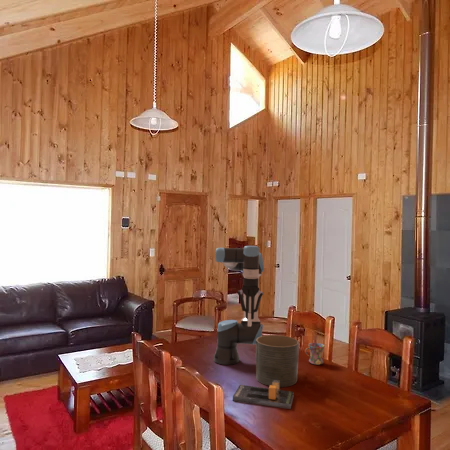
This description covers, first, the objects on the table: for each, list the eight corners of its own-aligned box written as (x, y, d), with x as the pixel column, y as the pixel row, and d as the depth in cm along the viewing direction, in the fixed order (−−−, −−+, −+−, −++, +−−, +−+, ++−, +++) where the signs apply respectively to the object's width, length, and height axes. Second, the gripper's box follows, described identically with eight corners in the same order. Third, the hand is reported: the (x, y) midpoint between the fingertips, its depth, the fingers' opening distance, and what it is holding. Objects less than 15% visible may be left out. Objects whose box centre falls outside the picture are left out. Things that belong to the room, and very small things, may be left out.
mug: (318, 359, 238) (319, 342, 238) (327, 365, 229) (327, 346, 230) (301, 361, 234) (301, 343, 235) (309, 366, 226) (309, 348, 226)
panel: (232, 400, 179) (233, 385, 179) (239, 388, 192) (240, 374, 192) (290, 409, 172) (290, 393, 172) (293, 396, 185) (293, 381, 185)
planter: (302, 376, 211) (303, 338, 211) (291, 391, 191) (292, 349, 191) (263, 368, 221) (264, 332, 221) (249, 382, 200) (249, 342, 201)
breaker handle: (268, 398, 176) (268, 387, 176) (269, 396, 179) (269, 385, 179) (275, 399, 175) (275, 388, 176) (276, 396, 178) (276, 385, 178)
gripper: (236, 277, 190) (234, 326, 190) (262, 279, 187) (261, 329, 187) (239, 275, 197) (238, 322, 198) (265, 277, 194) (264, 324, 194)
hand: (249, 325), depth 192 cm, fingers closed
